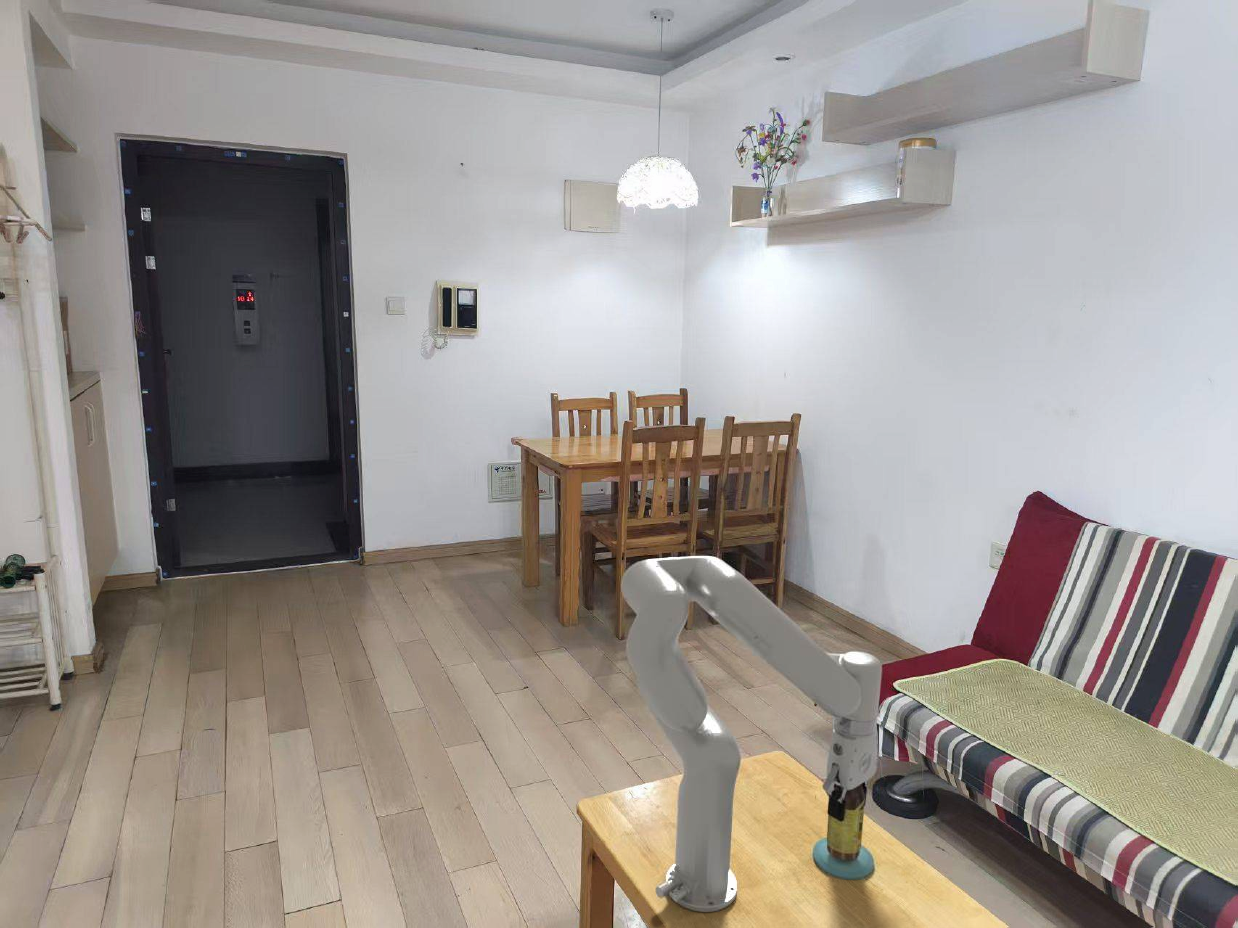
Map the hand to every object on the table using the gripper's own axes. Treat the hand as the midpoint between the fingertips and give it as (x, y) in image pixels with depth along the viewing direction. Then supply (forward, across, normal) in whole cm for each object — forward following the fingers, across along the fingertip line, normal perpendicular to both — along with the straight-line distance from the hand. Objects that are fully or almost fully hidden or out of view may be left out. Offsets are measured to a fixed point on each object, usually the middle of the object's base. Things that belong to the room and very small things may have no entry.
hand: (846, 809), depth 149 cm
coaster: (+10, 0, 0) cm, 10 cm away
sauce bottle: (+9, 0, 0) cm, 9 cm away
